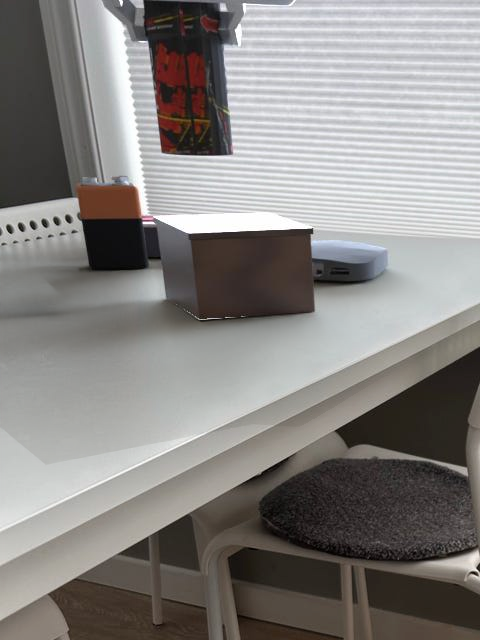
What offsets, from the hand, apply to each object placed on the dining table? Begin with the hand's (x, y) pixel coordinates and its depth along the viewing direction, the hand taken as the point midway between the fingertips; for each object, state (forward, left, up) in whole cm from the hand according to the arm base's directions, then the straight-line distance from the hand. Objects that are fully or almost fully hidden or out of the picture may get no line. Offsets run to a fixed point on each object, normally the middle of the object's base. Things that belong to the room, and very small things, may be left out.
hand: (186, 37), depth 77 cm
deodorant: (0, -1, -9) cm, 9 cm away
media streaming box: (+21, +25, -23) cm, 41 cm away
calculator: (+9, +48, -23) cm, 54 cm away
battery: (-1, +37, -23) cm, 44 cm away
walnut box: (+5, +10, -23) cm, 26 cm away
